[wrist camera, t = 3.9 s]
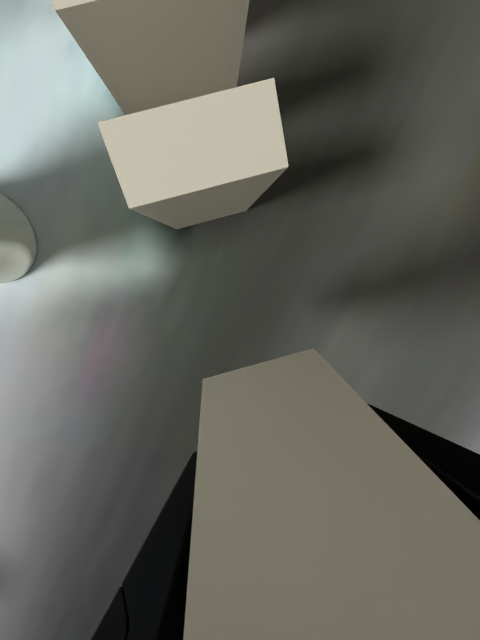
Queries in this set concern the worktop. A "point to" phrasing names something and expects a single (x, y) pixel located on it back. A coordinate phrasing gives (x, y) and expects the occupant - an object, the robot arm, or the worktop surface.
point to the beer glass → (15, 241)
